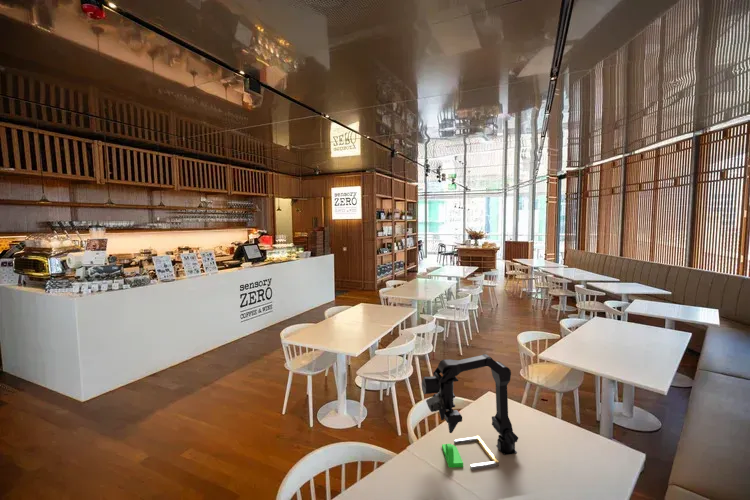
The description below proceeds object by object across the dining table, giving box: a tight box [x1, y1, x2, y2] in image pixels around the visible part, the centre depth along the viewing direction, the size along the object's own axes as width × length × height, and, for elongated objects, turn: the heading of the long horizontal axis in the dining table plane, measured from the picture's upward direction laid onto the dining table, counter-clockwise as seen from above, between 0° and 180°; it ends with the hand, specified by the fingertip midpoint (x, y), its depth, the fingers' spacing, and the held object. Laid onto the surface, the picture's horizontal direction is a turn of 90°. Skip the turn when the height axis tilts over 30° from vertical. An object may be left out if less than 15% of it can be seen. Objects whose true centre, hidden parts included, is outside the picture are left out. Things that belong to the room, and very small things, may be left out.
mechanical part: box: [441, 443, 464, 468], centre depth 142 cm, size 12×6×8 cm, turn 2°
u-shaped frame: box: [453, 435, 500, 471], centre depth 144 cm, size 12×17×2 cm
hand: (446, 426), depth 141 cm, fingers open, 9 cm apart
